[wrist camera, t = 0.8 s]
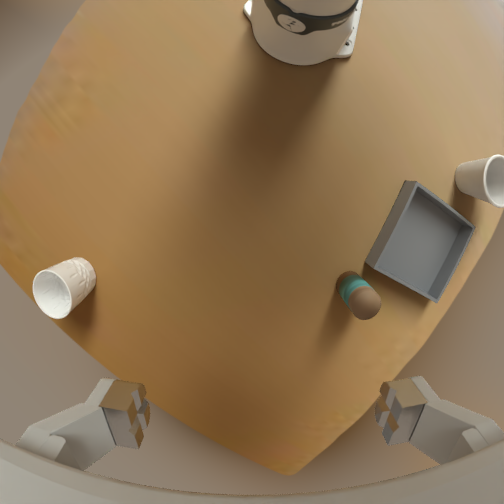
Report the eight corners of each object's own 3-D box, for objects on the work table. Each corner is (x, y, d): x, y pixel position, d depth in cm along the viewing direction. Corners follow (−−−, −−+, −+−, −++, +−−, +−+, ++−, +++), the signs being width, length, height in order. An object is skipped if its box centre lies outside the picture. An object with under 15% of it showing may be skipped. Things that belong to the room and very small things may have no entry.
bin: (405, 180, 46) (416, 181, 42) (462, 223, 47) (475, 226, 43) (364, 261, 49) (373, 268, 45) (426, 295, 50) (437, 303, 46)
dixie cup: (486, 174, 45) (521, 177, 35) (469, 209, 47) (504, 218, 37) (460, 145, 44) (495, 143, 34) (442, 182, 45) (477, 186, 36)
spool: (344, 266, 49) (362, 285, 40) (366, 277, 49) (387, 297, 41) (331, 290, 50) (345, 313, 41) (352, 300, 50) (370, 324, 42)
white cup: (97, 254, 48) (67, 271, 39) (101, 297, 50) (75, 321, 41) (61, 252, 48) (29, 268, 39) (66, 294, 50) (37, 315, 40)
